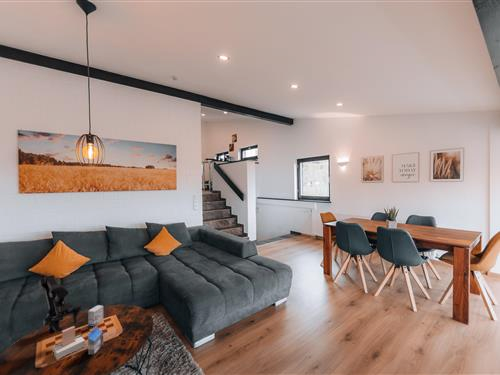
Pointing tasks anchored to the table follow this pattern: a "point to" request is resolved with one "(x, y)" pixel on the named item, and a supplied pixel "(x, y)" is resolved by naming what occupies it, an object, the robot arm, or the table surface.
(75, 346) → the dispenser
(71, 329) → the pink rectangular block
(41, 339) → the table surface
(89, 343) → the label tape cartridge
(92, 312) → the ink box
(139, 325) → the table surface
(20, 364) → the table surface
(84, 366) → the table surface
